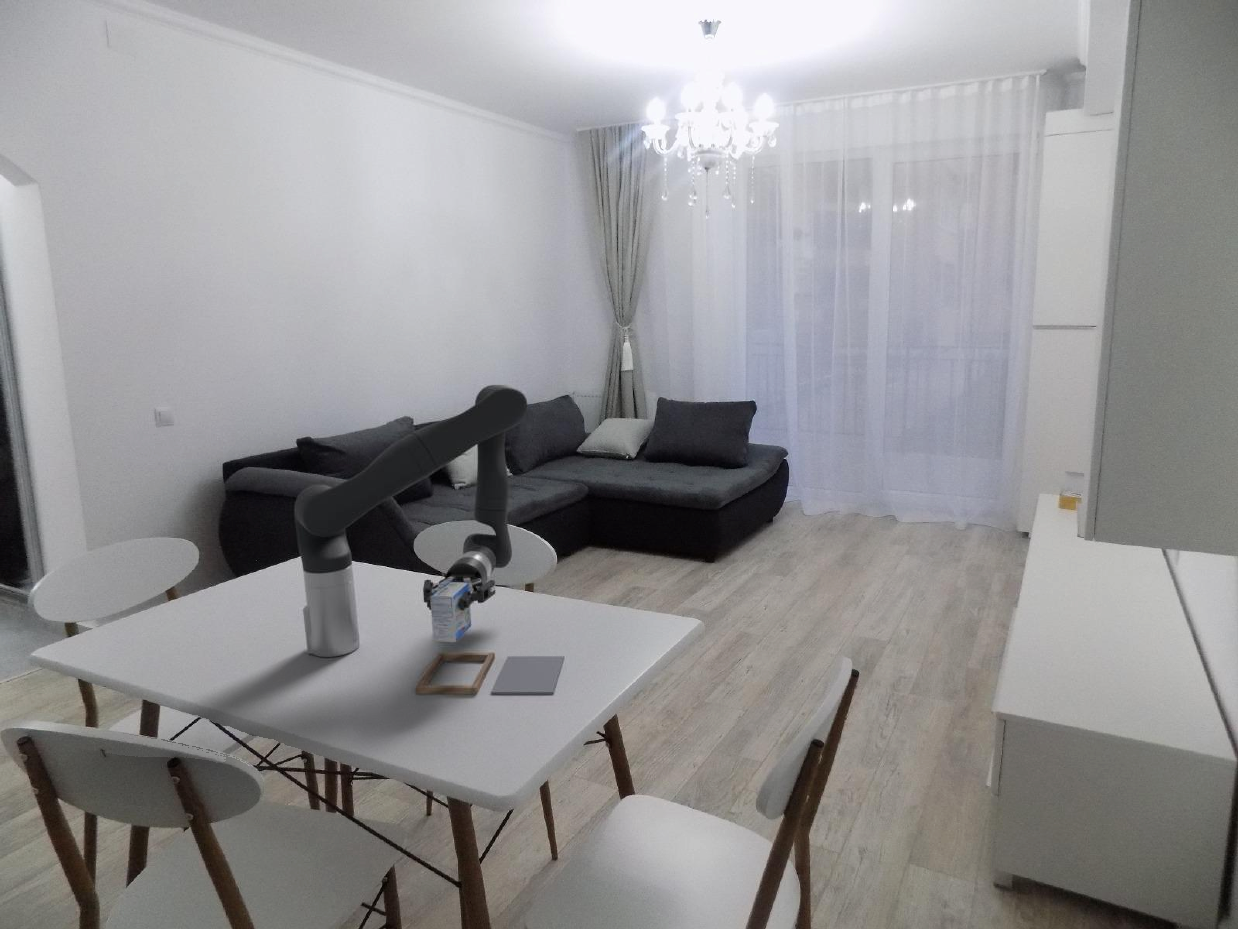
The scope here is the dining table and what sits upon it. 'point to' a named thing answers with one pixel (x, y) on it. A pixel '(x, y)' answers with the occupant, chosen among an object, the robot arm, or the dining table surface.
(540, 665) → the charcoal mat
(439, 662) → the walnut tray
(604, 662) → the dining table surface
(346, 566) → the robot arm
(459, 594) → the medicine box
